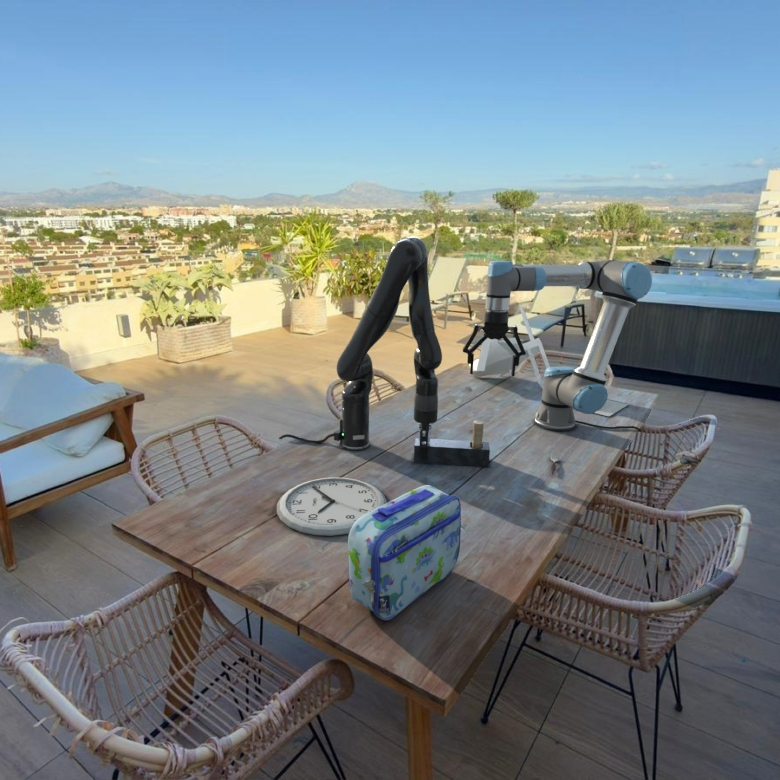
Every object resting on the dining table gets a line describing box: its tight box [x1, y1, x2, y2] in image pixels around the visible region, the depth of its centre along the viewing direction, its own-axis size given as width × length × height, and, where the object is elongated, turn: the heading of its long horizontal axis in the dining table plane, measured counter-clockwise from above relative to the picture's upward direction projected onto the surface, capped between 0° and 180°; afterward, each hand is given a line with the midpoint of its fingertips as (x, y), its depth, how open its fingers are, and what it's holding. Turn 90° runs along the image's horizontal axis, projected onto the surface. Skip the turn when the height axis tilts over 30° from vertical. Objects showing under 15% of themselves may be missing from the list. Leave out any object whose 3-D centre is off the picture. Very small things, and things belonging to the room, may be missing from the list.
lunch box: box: [347, 484, 462, 621], centre depth 107 cm, size 26×11×21 cm, turn 134°
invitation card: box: [594, 399, 629, 418], centre depth 226 cm, size 21×1×15 cm
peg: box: [471, 419, 485, 448], centre depth 169 cm, size 3×3×14 cm
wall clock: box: [276, 476, 388, 537], centre depth 142 cm, size 30×2×30 cm
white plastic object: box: [468, 306, 551, 390], centre depth 259 cm, size 37×45×31 cm
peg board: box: [413, 437, 491, 468], centre depth 171 cm, size 24×6×6 cm, turn 84°
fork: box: [550, 450, 560, 475], centre depth 169 cm, size 3×16×2 cm, turn 160°
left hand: (424, 452), depth 172 cm, fingers open, 8 cm apart
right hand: (491, 374), depth 174 cm, fingers open, 13 cm apart
